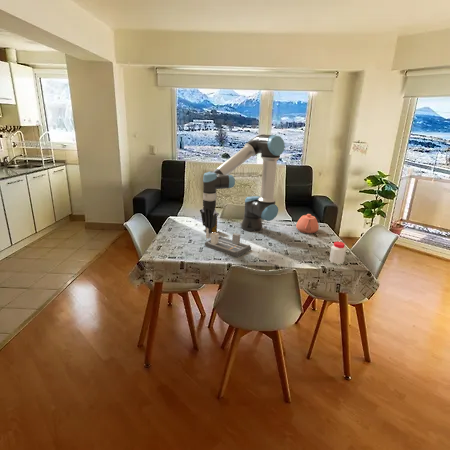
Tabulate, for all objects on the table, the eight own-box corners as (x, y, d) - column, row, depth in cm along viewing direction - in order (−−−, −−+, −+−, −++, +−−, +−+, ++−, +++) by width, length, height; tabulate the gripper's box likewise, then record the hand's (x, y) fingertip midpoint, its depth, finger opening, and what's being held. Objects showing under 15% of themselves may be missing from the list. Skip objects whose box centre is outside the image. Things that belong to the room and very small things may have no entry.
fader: (210, 242, 178) (211, 233, 176) (213, 241, 180) (214, 232, 178) (215, 244, 176) (215, 234, 174) (218, 243, 178) (218, 233, 176)
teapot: (319, 237, 201) (322, 220, 197) (295, 235, 204) (297, 217, 200) (316, 227, 221) (319, 211, 217) (295, 225, 224) (297, 209, 220)
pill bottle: (328, 263, 163) (331, 244, 159) (329, 257, 170) (332, 239, 166) (343, 265, 160) (347, 247, 157) (343, 260, 167) (347, 242, 164)
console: (204, 245, 179) (205, 232, 177) (219, 239, 190) (219, 227, 187) (237, 257, 165) (238, 243, 163) (251, 249, 176) (252, 236, 173)
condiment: (219, 232, 204) (219, 215, 200) (208, 234, 199) (209, 216, 195) (213, 228, 209) (214, 212, 206) (203, 230, 205) (203, 214, 201)
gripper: (196, 198, 174) (196, 236, 181) (213, 202, 166) (212, 242, 173) (205, 196, 179) (204, 233, 187) (222, 200, 172) (220, 238, 179)
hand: (208, 237), depth 180 cm, fingers closed
